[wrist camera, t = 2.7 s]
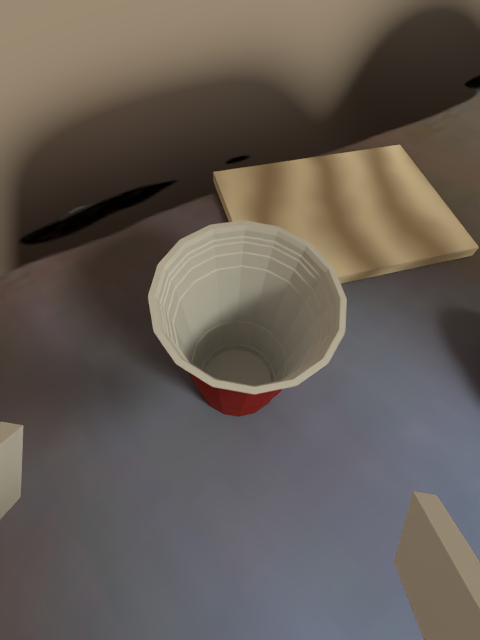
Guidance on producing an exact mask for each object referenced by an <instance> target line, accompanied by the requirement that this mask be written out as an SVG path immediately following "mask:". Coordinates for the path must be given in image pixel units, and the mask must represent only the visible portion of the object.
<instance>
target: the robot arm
mask: <svg viewBox="0 0 480 640" xmlns="http://www.w3.org/2000/svg"><path fill="white" fill-rule="evenodd" d="M22 444H23V425H18V424H12V423H6V422H0V519H1V518H2V517H3V516H4V514H5V513H6V512H7V511H8V510H9V509H10V508H11V507H12V506H13V505H14V504H15V502H16V501H17V500H18V499H19V498H20V494H21V469H22ZM394 563H395V566H396V568H397V571H398V573H399V576H400V579H401V581H402V584H403V586H404V589H405V592H406V594H407V597H408V599H409V602H410V605H411V607H412V610H413V612H414V615H415V617H416V620H417V623H418V625H419V628H420V630H421V633H422V636H423V638H424V640H480V562H479V560H478V559H477V557H476V556H475V554H474V553H473V551H472V549H471V548H470V546H469V545H468V543H467V542H466V540H465V539H464V537H463V535H462V534H461V532H460V531H459V529H458V528H457V526H456V525H455V523H454V521H453V520H452V518H451V517H450V515H449V514H448V512H447V511H446V509H445V507H444V506H443V504H442V503H441V501H440V500H439V498H438V497H437V495H433V494H427V493H421V492H415V491H413V494H412V497H411V501H410V505H409V508H408V512H407V516H406V519H405V523H404V527H403V531H402V534H401V538H400V542H399V545H398V549H397V553H396V556H395V560H394Z"/></svg>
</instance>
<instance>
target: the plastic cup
mask: <svg viewBox="0 0 480 640" xmlns="http://www.w3.org/2000/svg"><path fill="white" fill-rule="evenodd" d="M148 301H149V307H150V313H151V319H152V325H153V331H154V333H155V334H156V336H157V337H158V339H159V340H160V342H161V343H162V345H163V346H164V347H165V349H166V350H167V352H168V353H169V355H170V356H171V358H172V359H173V360H174V362H175V363H176V364H177V365H178V366H180V367H181V368H183V369H184V370H186V371H188V373H189V374H190V376H191V378H192V380H193V381H194V383H195V384H196V386H197V387H198V389H199V391H200V393H201V394H202V396H203V397H204V398H205V400H206V401H207V403H208V404H209V405H210V406H212V407H213V408H215V409H217V410H218V411H220V412H221V413H223V414H227V415H233V416H243V415H247V414H252V413H255V412H257V411H258V410H259V409H261V408H262V407H264V406H265V405H266V404H268V403H269V401H270V400H271V399H272V398H273V397H274V396H276V395H277V394H278V393H279V392H280V391H281V390H282V389H284V388H288V387H293V386H297V385H299V384H300V383H301V382H303V381H304V380H306V379H307V378H308V377H310V376H311V375H313V374H314V373H315V372H317V371H318V370H320V369H321V368H322V367H324V366H325V365H327V364H328V363H329V361H330V359H331V358H332V356H333V354H334V352H335V350H336V348H337V347H338V345H339V343H340V341H341V339H342V338H343V336H344V334H345V328H346V302H347V299H346V296H345V294H344V291H343V289H342V286H341V284H340V281H339V279H338V276H337V274H336V272H335V269H334V267H333V266H332V265H331V264H330V263H329V262H328V261H327V260H326V259H325V258H324V257H323V256H322V255H321V254H320V253H319V251H318V250H317V249H316V248H315V247H314V246H313V245H312V244H311V243H310V242H308V241H306V240H304V239H302V238H300V237H298V236H296V235H294V234H292V233H291V232H289V231H287V230H285V229H283V228H281V227H279V226H273V225H268V224H262V223H257V222H251V221H246V220H244V221H236V222H228V223H220V224H212V225H209V226H207V227H205V228H203V229H201V230H199V231H197V232H195V233H192V234H190V235H188V236H186V237H184V238H182V239H180V240H179V241H178V242H177V244H176V245H175V246H174V247H173V248H172V249H171V250H170V251H169V252H168V253H167V255H166V256H165V257H164V258H163V259H162V260H161V261H160V262H159V263H158V265H157V268H156V272H155V275H154V278H153V281H152V284H151V288H150V291H149V294H148Z"/></svg>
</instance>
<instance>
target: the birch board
mask: <svg viewBox="0 0 480 640" xmlns="http://www.w3.org/2000/svg"><path fill="white" fill-rule="evenodd" d="M213 182H214V184H215V187H216V190H217V192H218V195H219V198H220V200H221V203H222V205H223V208H224V211H225V213H226V216H227V218H228V221H229V222H236V221H244V220H246V221H251V222H257V223H262V224H268V225H273V226H279V227H281V228H283V229H285V230H287V231H289V232H291V233H292V234H294V235H296V236H298V237H300V238H302V239H304V240H306V241H308V242H310V243H311V244H312V245H313V246H314V247H315V248H316V249H317V250H318V251H319V253H320V254H321V255H322V256H323V257H324V258H325V259H326V260H327V261H328V262H329V263H330V264H331V265H332V266H333V267H334V269H335V272H336V274H337V276H338V279H339V281H340V284H342V283H347V282H351V281H356V280H361V279H365V278H370V277H375V276H379V275H384V274H389V273H393V272H398V271H403V270H407V269H412V268H417V267H421V266H426V265H431V264H435V263H440V262H445V261H449V260H454V259H459V258H463V257H468V256H472V255H473V254H474V253H475V252H476V250H477V249H478V248H479V247H478V245H477V244H476V243H475V241H474V240H473V239H472V238H471V236H470V235H469V234H468V232H467V231H466V230H465V228H464V227H463V226H462V225H461V223H460V222H459V221H458V219H457V218H456V217H455V216H454V214H453V213H452V212H451V210H450V209H449V208H448V206H447V205H446V204H445V203H444V201H443V200H442V199H441V197H440V196H439V195H438V194H437V192H436V191H435V190H434V188H433V187H432V186H431V184H430V183H429V182H428V181H427V179H426V178H425V177H424V175H423V174H422V173H421V172H420V170H419V169H418V168H417V166H416V165H415V164H414V162H413V161H412V160H411V159H410V157H409V156H408V155H407V153H406V152H405V151H404V149H403V148H402V147H401V146H400V145H394V146H387V147H380V148H373V149H367V150H360V151H353V152H346V153H339V154H332V155H326V156H319V157H312V158H305V159H298V160H292V161H285V162H278V163H271V164H264V165H257V166H251V167H244V168H237V169H230V170H224V171H216V172H213Z"/></svg>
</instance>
